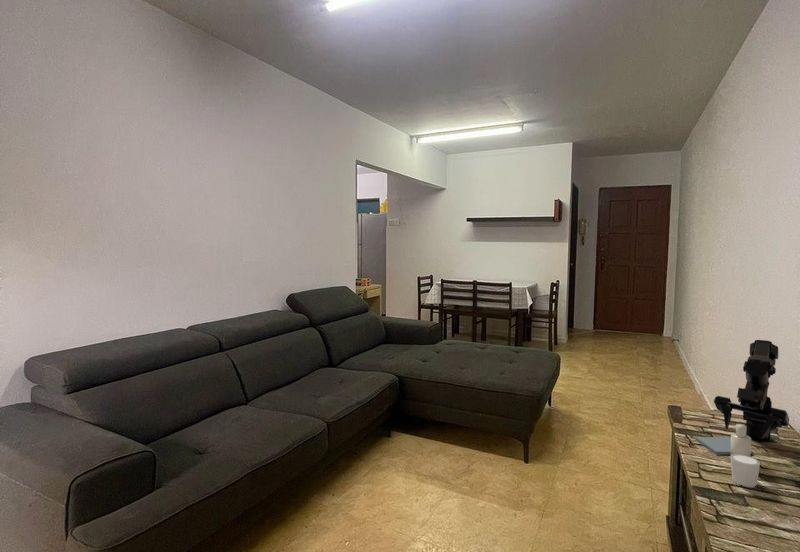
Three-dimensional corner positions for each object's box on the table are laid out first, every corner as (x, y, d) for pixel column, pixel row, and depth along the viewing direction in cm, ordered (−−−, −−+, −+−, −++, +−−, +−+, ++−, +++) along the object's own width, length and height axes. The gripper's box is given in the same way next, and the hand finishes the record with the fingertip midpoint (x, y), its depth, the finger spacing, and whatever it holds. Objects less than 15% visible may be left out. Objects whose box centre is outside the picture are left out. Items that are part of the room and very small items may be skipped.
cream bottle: (742, 459, 140) (743, 422, 139) (754, 467, 135) (755, 429, 134) (726, 459, 140) (727, 422, 139) (737, 467, 135) (738, 428, 134)
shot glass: (765, 489, 123) (765, 466, 122) (737, 487, 124) (738, 464, 124) (750, 477, 129) (751, 454, 129) (724, 475, 131) (725, 452, 130)
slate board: (730, 440, 154) (730, 437, 154) (753, 454, 143) (753, 451, 143) (695, 439, 154) (695, 437, 154) (716, 454, 144) (716, 451, 143)
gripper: (716, 372, 148) (703, 411, 142) (788, 385, 133) (777, 429, 127) (723, 390, 153) (711, 428, 147) (793, 404, 138) (783, 448, 132)
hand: (743, 432), depth 138 cm, fingers open, 9 cm apart
